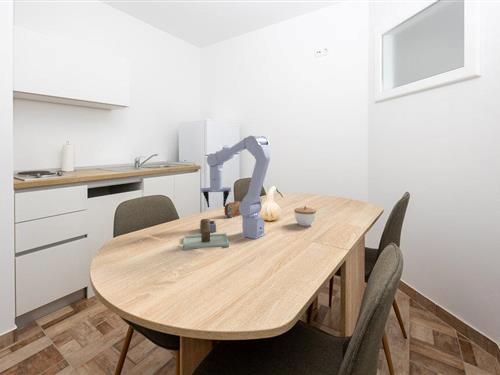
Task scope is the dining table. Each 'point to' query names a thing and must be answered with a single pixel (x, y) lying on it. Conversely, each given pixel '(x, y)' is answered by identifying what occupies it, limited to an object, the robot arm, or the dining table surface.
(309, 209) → the lidded jar
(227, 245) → the tray
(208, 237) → the dowel
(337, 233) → the dining table surface
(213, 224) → the grey square socket
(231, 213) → the tin
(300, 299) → the dining table surface
